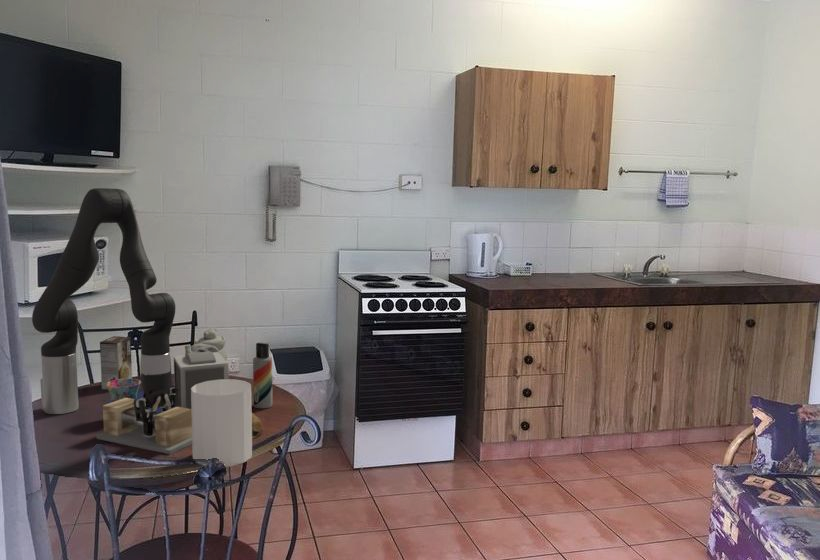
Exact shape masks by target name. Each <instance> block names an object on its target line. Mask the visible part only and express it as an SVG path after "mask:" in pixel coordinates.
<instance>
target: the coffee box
mask: <svg viewBox="0 0 820 560" xmlns="http://www.w3.org/2000/svg"><path fill="white" fill-rule="evenodd" d="M131 341H132V339H131V337H130V336H120V335H119V336H114V335H113V336H111V337H108V338H107V339H103V340H102V341H100V342H99V352H100V353H99V355H100V356H99V357H100V379H101V390H105V391H109V390H108V388H107V386H106V383H108V382H110V381H112V380H117V379H126V378H131V379H133V365H132V362H133V361H132V347H131V346H132V345H131Z"/></svg>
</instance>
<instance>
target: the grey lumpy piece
mask: <svg viewBox="0 0 820 560" xmlns="http://www.w3.org/2000/svg"><path fill="white" fill-rule="evenodd" d="M225 344H226V338H225V337H223V336H220V335H218V334H217V328H215V327H213V329H211V328H209V329H206V330H205V331H204V332H203V336H200V337H197V338H196V339H195V340H194V343H193V345H190V344H186V345H185V346H184V349H185V353H184V355H185V354H186V353H197V352H209V351H211V352H212V353H214V352H219V353H220V355H221V356H222V357H223V358H224V359H225V360H226V361H227V362H228V356H227V355H228V354H227V351H226V349H225Z"/></svg>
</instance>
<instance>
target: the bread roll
mask: <svg viewBox="0 0 820 560" xmlns="http://www.w3.org/2000/svg"><path fill="white" fill-rule="evenodd" d="M263 430H264V426H263V422H262V420H261V419H260V418H259V416H256V414H255V413H253V412H252V440H253V439H255V438H257V437H259V436H261V435H262V433H263V432H264V431H263Z"/></svg>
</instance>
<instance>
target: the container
mask: <svg viewBox="0 0 820 560" xmlns="http://www.w3.org/2000/svg"><path fill="white" fill-rule="evenodd" d="M191 410H192V444H191V445H192V447H191V448H192V449H191V450H192V460H193V459H206V460H208V459H212V458H217V459H219V461H223V462H224V463H225V467H224V468H226V467H234V466H237V465H240V464H244V463H245V462H247V461H249V460H250V459H251V458H252V456H253V439H252V413H253V412H252V383H250V382H248V381H245V380H240V379H235V378H233V379H230V378H229V379H219V380H212V381H205V382H202V383H199V384H196V385H194V386H193V387H192V388H191Z"/></svg>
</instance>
